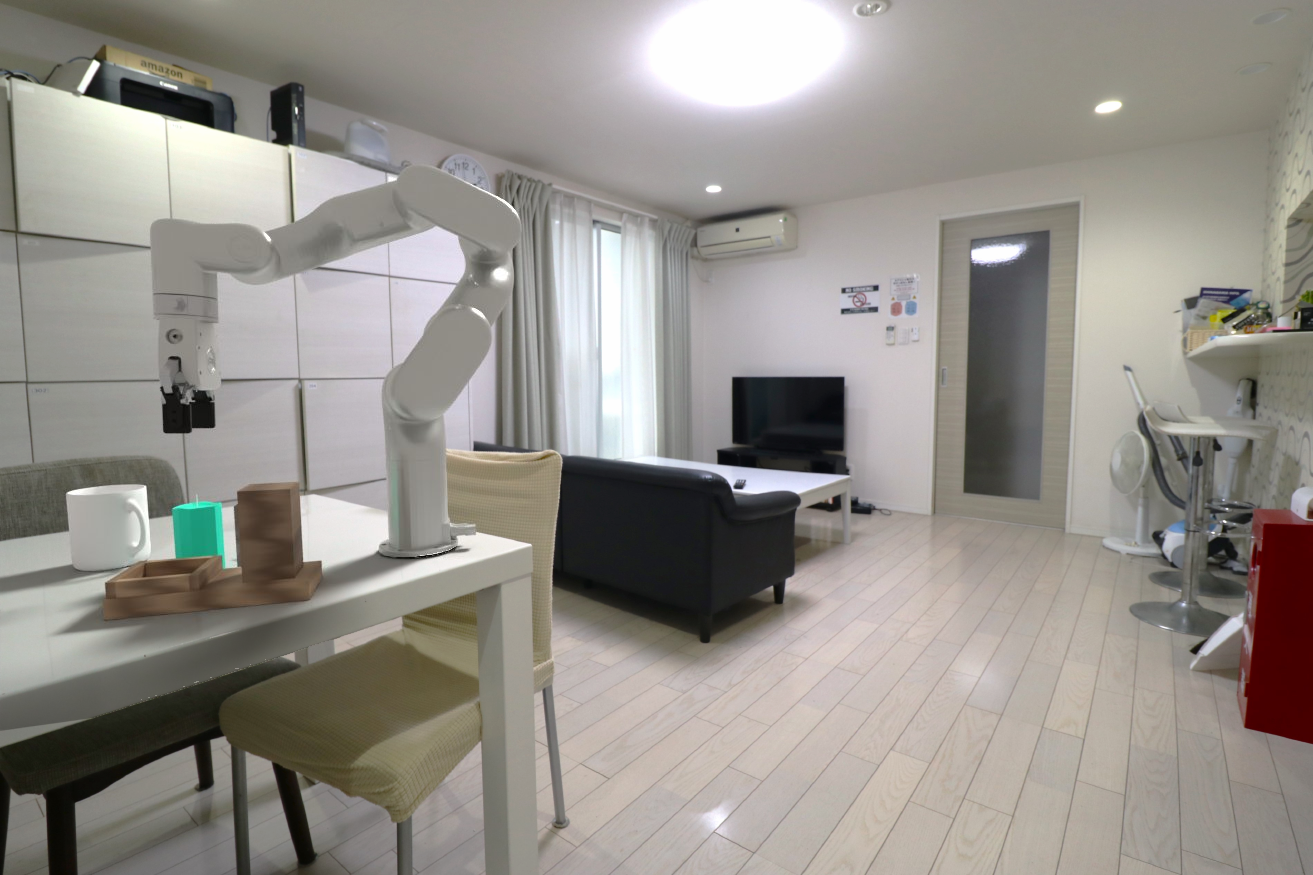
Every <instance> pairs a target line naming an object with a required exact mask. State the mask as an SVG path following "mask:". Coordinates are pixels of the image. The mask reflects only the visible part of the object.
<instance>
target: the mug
mask: <svg viewBox="0 0 1313 875" xmlns="http://www.w3.org/2000/svg"><path fill="white" fill-rule="evenodd" d="M147 493H148V492H147V485H144V484H115V485H114V484H111V485H102V486H92V487H84V488H78V489H73V490H70V491H67V492H66V493H65V500H66V510H67V521H68V533H69V545H70V556H71V563H72V566H73V568H74V569H76V570H78V571H82V572H101V570H102V571H103V570H104V571H111V570H117V569H116V568H118V569H122V567H124V568H128V567H131V566H132V565H134V564H136V563H137V562H139V561H148V559H149V558H150V557H151V553H152V549H151V548H152V546H151V535H150V534H151V533H150V532H151V531H150V521H149V520H150V519H149V506H148V494H147ZM127 566H128V567H127ZM104 571H103V572H104Z"/></svg>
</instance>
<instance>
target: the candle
mask: <svg viewBox="0 0 1313 875" xmlns="http://www.w3.org/2000/svg"><path fill="white" fill-rule="evenodd" d="M195 498H196V500H195V501H196V502H190V503H189V502H188V503H185V504H180V505H177V506H175V507H173V508H171V513H172V523H173V524H172V526H173V540H174V552H175V553H174V555H175V559H176V558H189V557H202V556H215V555H222V561H223V569H224V568H227V567H226V558H225V557H226V556H225V555H226V554H225V553H226V552H225V540H224V524H223V523H224V522H223V521H224V520H223V506H222V502H220V501H219V502H211V501H206V500H205V501H204V500H203V501H199V500H198V494H195Z"/></svg>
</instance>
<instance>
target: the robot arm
mask: <svg viewBox="0 0 1313 875" xmlns="http://www.w3.org/2000/svg"><path fill="white" fill-rule="evenodd" d="M436 227H438V228H440V229H442V230H443V231H446V232H449V233H451V234H452V235H454V236H457V238H458V244H459V247H460V249H461V252H462V254H463V256H464V261H465V262H464V263H465V267H464V268H465V269H464V272H463V274H462V276H461V278H460V279H459V281H458V283H456V285H455V287H454V288H453V290H452V291H451V293H450V294H449V295H448V296H447V298H446V300H445V301H444V302H443V304H442V305H441V306H440V308H439V309H438V310H437V311H436V312H435V313H434V314H433V315H432V316H431V317H430V318H429V320H428V321H427V323H426V324H425V327H424V329H423V332H422V336H421V337H420V338H419V340H418V342H417V343H416V344H415V345H414V347H413V349H411V351H410V352H409V354H408V355H407V356H406V358H405V359H404V360H403V362H401V363H398V364H397V365H395V366H394V367H392V369H390V370H389V371H388V372H387V374H386V375H385V376H384V379H383V382H382V385H381V408H382V416H383V417H382V418H383V429H384V430H383V431H384V446H385V447H384V449H385V471H386V472H385V476H386V479H385V480H386V500H387V504H386V505H387V526H388V527H387V528H388V529H387V530H388V539H385V540H383V541H382V542H380V544H378V552H379V554H381V555H383V556H385V557H389V556H390V558H396V557H414V556H420V555H427V554H433V553H437V552H442V551H446V550H449V549H451V548H453V547H455V546H457V545H458V546H459V540H458V537H460V536H469V537H470V536H477V527H476V525H477V524H476V523H471V524H470V523H468V522H465V523H461V522H460V523H454V522H451V519H450V516H449V511H448V506H449V505H448V479H447V478H448V476H447V475H448V474H447V443H446V442H447V441H446V440H447V438H446V426H445V416H444V414H445V413H447V411H449V409H450V408H451V407H452V405H453V404H454V403H455V401H456V400H457V399H458V397H459V396H460V395H461V393H462V392H463V390H464V389H465V387H466V386H467V385H468V384H469V382H470V381H471V379H472V378H473V376H474V375H475V374H476V372H477V370H478V369H479V368H480V367H481V365H482V363H483V362H484V360H485V358H486V357H487V355H488V354H489V350H490V349H491V345H492V343H493V342H492V341H493V331H492V327H493V326H494V324H495V323H496V321H497V320H498V317H500V315H501V313H502V311H503V310H504V308H505V307H506V305H507V303H508V302H509V300H510V298H511V296H512V293H513V290H514V284H515V271H514V270H515V269H514V263H513V260H512V256H511V253H510V252H511V251H512V250H513V249H514V248H515V247H516V246H517V245H518V244H519V242H520V240H521V237H522V231H523V226H522V221H521V219H520V216H519V214H518V212H517V211H516V210H515V209H514V207H513V206H512V205H510V204H509V203H508V202H507V201H506V200H504V199H503V198H500V197H499V196H497V195H494V194H493V193H490V192H489V191H486V190H485V189H482V188H481V187H478V186H476V185H474V184H472V183H471V182H467V181H466V180H464V179H462V178H460V177H459V176H455V175H454V174H452V173H449V172H448V171H446V170H442V169H441V168H439V167H436V166H432V165H429V164H425V163H424V164H423V163H416V164H415V163H414V164H410V165H409V166H406V167H405V168H403V169H402V170H401V171H400V173H399V174H398V176H397V178H396V180H393V181H392V180H391V181H388V182H383V183H380V184H377V185H374V186H370V187H367V188H363V189H360V190H356V191H351V192H347V193H345V194H344V193H343V194H339V195H336V196H334V197H332V198H329V199H327V200H326V201H324V202H321V204H320V205H319V206H317V207H315V209H314V210H312V211H311V212H310V213H308V214H307V215H306V216H304V217H302V218H300V219H298V220H295V221H293V222H291V223H288V224H286V225H285V224H284V225H283V226H279V227H276V228H273V229H270V230H266V231H264V230H263V229H261V228H259V227H257V226H255V225H251V224H246V223H232V222H230V223H228V222H227V223H201V222H197V221H193V220H188V219H180V218H159V219H156V220H154V221H153V222H152V223H151V224H150V228H149V241H150V242H149V243H150V266H151V267H150V268H151V269H150V270H151V289H152V290H151V292H152V311H153V312H152V317H153V320H157V321H159V323H158V333H157V334H158V339H157V368H158V369H157V370H158V381H159V384H160V387H159V391H160V392H161V396H160V402H161V410H162V412H161V413H162V431H163V433H164V434H167V435H168V434H179V435H180V434H181V435H182V434H183V435H184V434H187V435H188V434H191V433H192V432H193V429H214V428H216V402H215V401H216V396H215V392H214V391H216V390H218V389H220V387H221V386H222V377H221V375H222V374H221V365H220V364H221V363H220V354H219V343H218V337H217V336H218V335H217V331H216V325H215V324H219V322H220V321H219V319H220V318H219V317H220V316H219V295H218V293H219V291H218V274H219V273H221V274H228V275H230V276H231V277H232V278H234V279H235V280H237V281H239V282H241V283H242V284H246V285H251V286H257V285H258V286H259V285H266V284H269V283H273V282H276V281H279V280H283V279H286V278H287V279H288V278H289V277H293V276H296V275H299V274H303V273H305V272H309V271H311V270H314V269H316V268H319V267H322V266H325V265H327V264H330V263H332V262H335V261H340V260H343V259H346V258H348V257H350V256H353V255H354V254H358V253H361V252H363V251H367V250H370V249H373V248H377V247H379V246H382V245H385V244H389V243H391V242H392V243H393V242H394V241H399V240H403V239H406V238H408V237H412V236H415V235H418V234H421V233H424V232H428V231H429V230H432V229H433V228H436ZM190 398H191V399H190ZM189 399H190V400H191V401H189ZM458 546H457V547H458Z"/></svg>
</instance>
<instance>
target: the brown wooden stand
mask: <svg viewBox="0 0 1313 875" xmlns="http://www.w3.org/2000/svg"><path fill="white" fill-rule="evenodd" d="M300 491H301V488H300V481H291V482H287V481H286V482H267V483H265V482H264V483H263V482H262V483H250V484H247V485H246V486H244V487H242V488H241V489H238V490H237V491H236V497H237V499H236V500H237V504H235V505H233V516H234V517H233V519H234V535H235V537H234V538H235V550H236V551H235V552H236V565H237V567H226V568H224V569H223V561H222V555H215V556H202V557H189V558H176V557H175V558H165V559H153V560H152V559H151V560H150V559H149V560H146V561H139V562H137V563H136V564H134V565H133V566H128V567H127V568H126V569H125V570H123V571H122V572H119V573H118V574H117V575H115V576H113V577H112V578H110V579H109V580H107V581H106V582H104V589H105V598H103V599H102V608H103V611H102V612H103V621H108V620H109V621H110V620H117V619H118V620H120V619H132V618H141V617H149V616H159V615H160V616H162V615H170V614H181V613H191V612H200V611H209V610H221V609H222V610H223V609H231V608H238V607H249V606H261V605H262V606H263V605H272V604H279V603H280V604H281V603H288V602H289V603H291V602H298V601H299V602H302V601H310V600H311V598H312V596H313V595H314V593H315V592H316V589H317V588H318V586H319V584H320V582H321V580H322V579H323V561H322V560H313V561H304V549H303V533H302V532H303V529H302V511H301V508H302V507H301V493H300Z"/></svg>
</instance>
